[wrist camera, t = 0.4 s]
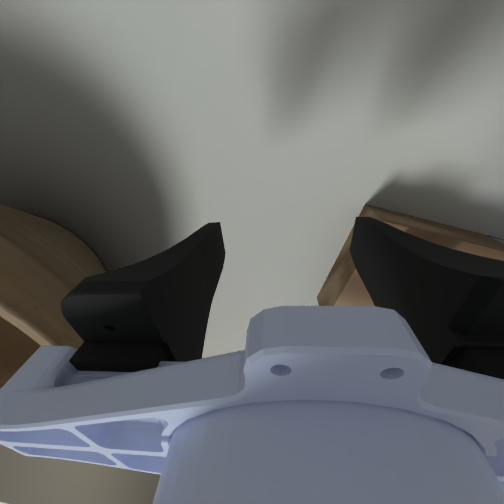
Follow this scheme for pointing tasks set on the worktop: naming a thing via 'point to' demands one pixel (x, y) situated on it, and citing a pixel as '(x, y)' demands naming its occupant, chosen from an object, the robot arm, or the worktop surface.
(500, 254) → the walnut board
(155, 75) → the worktop surface
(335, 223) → the worktop surface
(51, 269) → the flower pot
